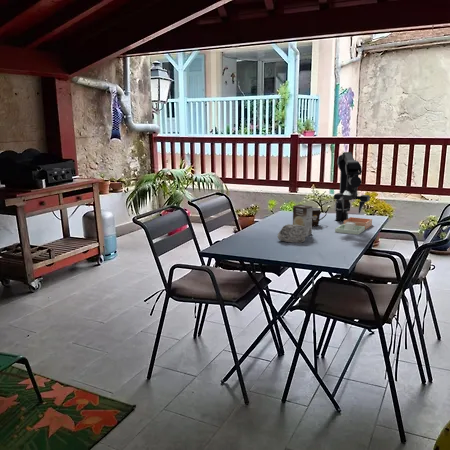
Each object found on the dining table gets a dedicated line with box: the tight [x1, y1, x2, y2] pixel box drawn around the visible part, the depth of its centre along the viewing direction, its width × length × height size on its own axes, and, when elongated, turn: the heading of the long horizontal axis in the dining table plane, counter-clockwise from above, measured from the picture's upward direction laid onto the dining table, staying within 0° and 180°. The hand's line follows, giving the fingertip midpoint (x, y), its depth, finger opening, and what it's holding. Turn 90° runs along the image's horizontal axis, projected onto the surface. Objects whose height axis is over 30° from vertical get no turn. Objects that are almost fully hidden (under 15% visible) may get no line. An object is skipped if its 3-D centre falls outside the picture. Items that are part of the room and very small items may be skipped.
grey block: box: [345, 222, 356, 230], centre depth 258 cm, size 4×4×4 cm
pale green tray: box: [334, 223, 366, 235], centre depth 258 cm, size 13×12×2 cm
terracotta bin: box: [343, 216, 373, 230], centre depth 269 cm, size 13×12×4 cm
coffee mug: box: [312, 207, 327, 228], centre depth 274 cm, size 12×9×10 cm
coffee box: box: [292, 204, 313, 238], centre depth 253 cm, size 9×6×16 cm
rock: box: [277, 223, 308, 244], centre depth 241 cm, size 16×8×10 cm, turn 61°
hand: (351, 212), depth 256 cm, fingers open, 9 cm apart
